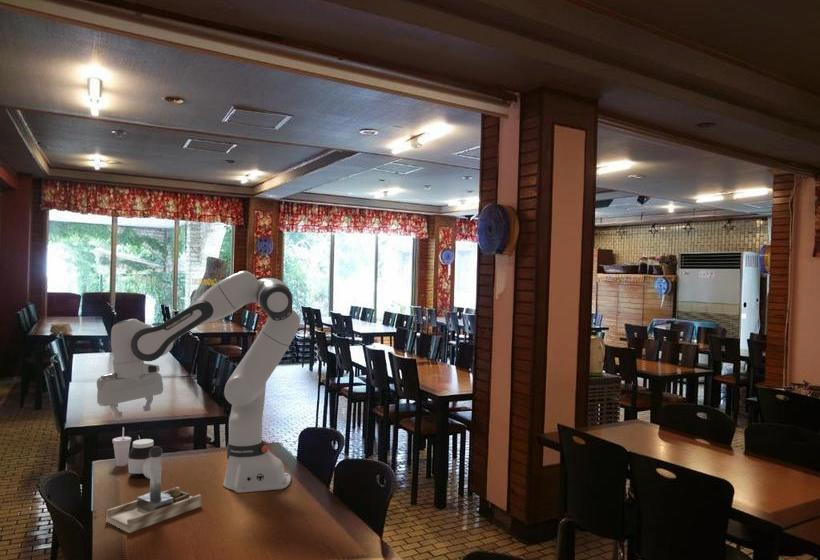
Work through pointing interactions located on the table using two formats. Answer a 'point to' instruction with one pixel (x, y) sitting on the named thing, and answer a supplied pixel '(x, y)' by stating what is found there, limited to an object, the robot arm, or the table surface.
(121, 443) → the smoothie
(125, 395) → the robot arm
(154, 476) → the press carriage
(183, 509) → the press base
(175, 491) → the walnut
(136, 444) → the spread jar
